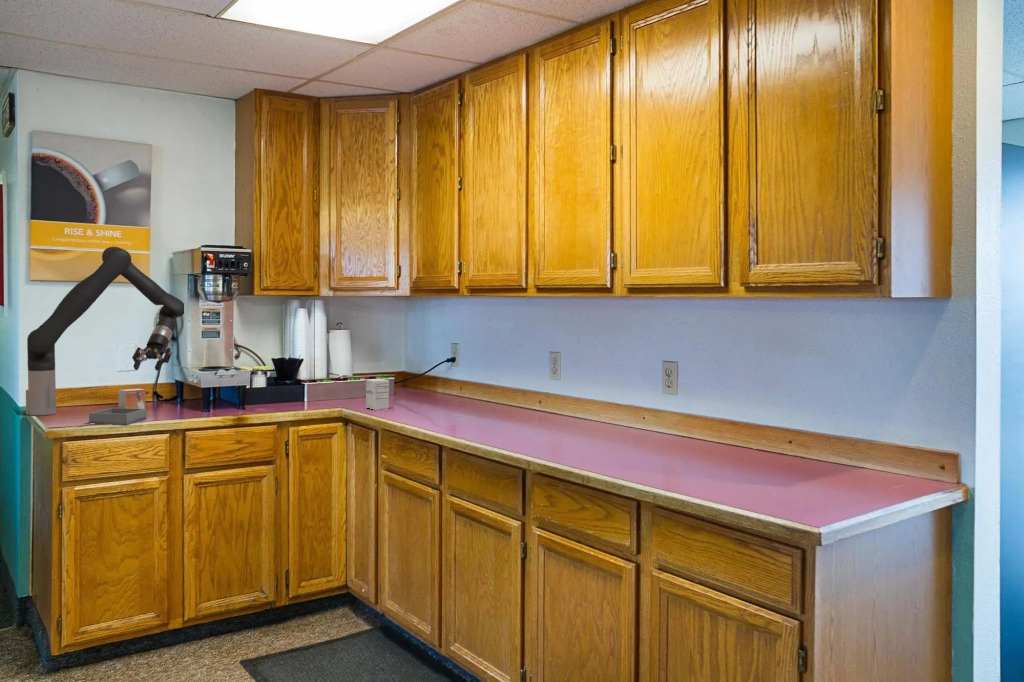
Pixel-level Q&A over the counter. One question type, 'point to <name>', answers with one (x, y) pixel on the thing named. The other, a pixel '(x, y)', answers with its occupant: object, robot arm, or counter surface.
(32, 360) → the robot arm
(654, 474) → the counter surface
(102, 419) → the grey tray
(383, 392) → the supplement box
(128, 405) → the small box
